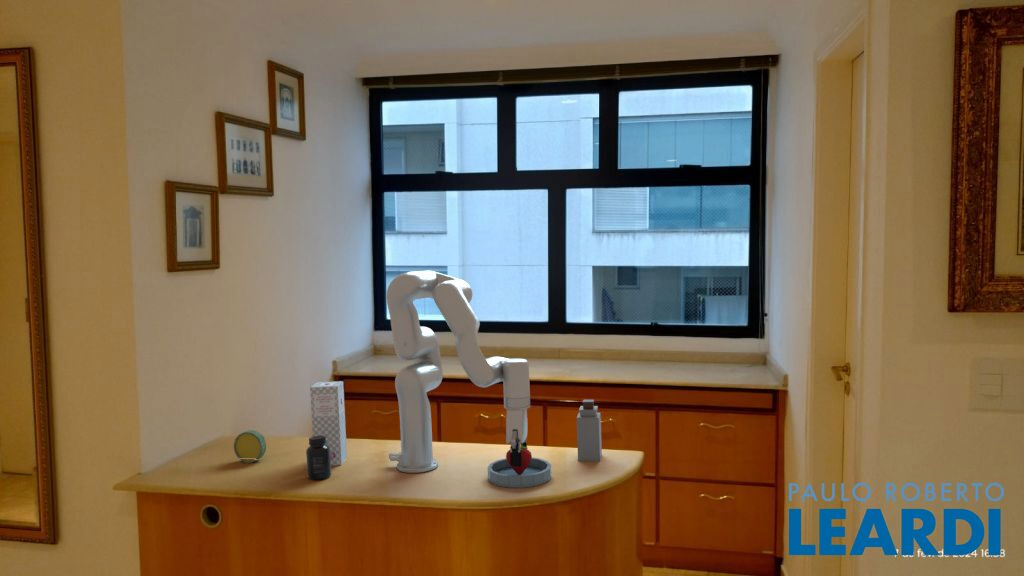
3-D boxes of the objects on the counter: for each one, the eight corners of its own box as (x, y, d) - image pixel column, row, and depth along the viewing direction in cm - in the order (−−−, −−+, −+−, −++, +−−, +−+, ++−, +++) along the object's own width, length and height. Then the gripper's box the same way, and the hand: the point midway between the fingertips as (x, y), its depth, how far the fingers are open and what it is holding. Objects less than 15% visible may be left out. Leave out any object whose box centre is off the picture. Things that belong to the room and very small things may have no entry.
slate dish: (482, 487, 198) (482, 475, 197) (495, 467, 215) (494, 456, 215) (547, 488, 195) (546, 476, 194) (554, 468, 212) (553, 457, 212)
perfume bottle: (600, 461, 217) (598, 403, 216) (578, 460, 219) (576, 403, 218) (601, 455, 224) (600, 398, 223) (580, 454, 225) (578, 398, 224)
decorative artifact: (234, 462, 230) (232, 432, 230) (246, 456, 237) (244, 426, 237) (262, 463, 228) (261, 432, 228) (274, 456, 235) (272, 426, 235)
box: (314, 466, 223) (310, 387, 222) (320, 458, 231) (316, 382, 230) (341, 465, 223) (337, 386, 222) (346, 457, 232) (343, 381, 230)
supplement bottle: (335, 474, 214) (333, 434, 213) (322, 481, 208) (320, 441, 207) (316, 472, 216) (314, 433, 216) (302, 479, 210) (300, 439, 209)
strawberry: (508, 470, 209) (507, 437, 208) (533, 471, 207) (533, 438, 207) (504, 477, 203) (503, 442, 202) (530, 478, 201) (529, 443, 201)
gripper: (509, 395, 213) (511, 452, 214) (498, 409, 196) (500, 470, 197) (534, 395, 212) (535, 452, 213) (525, 409, 195) (527, 470, 196)
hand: (519, 460), depth 205 cm, fingers open, 9 cm apart
